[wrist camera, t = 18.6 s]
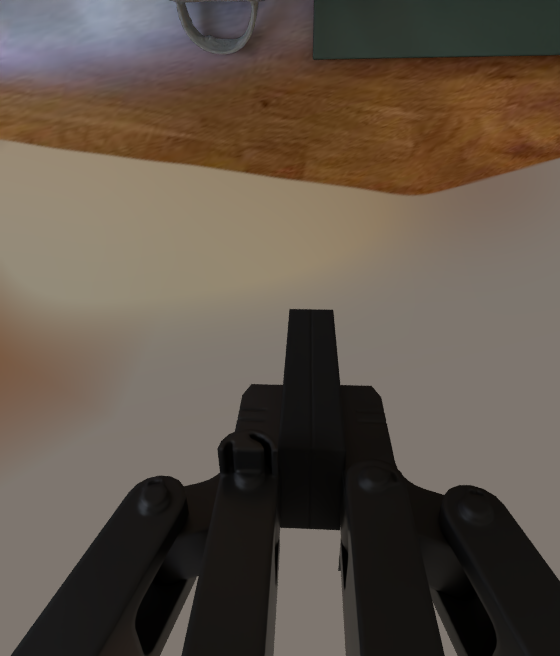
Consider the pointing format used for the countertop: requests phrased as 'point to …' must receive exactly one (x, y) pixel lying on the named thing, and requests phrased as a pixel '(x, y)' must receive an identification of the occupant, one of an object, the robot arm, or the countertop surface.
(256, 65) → the countertop surface
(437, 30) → the foosball frame
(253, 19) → the ceramic mug
